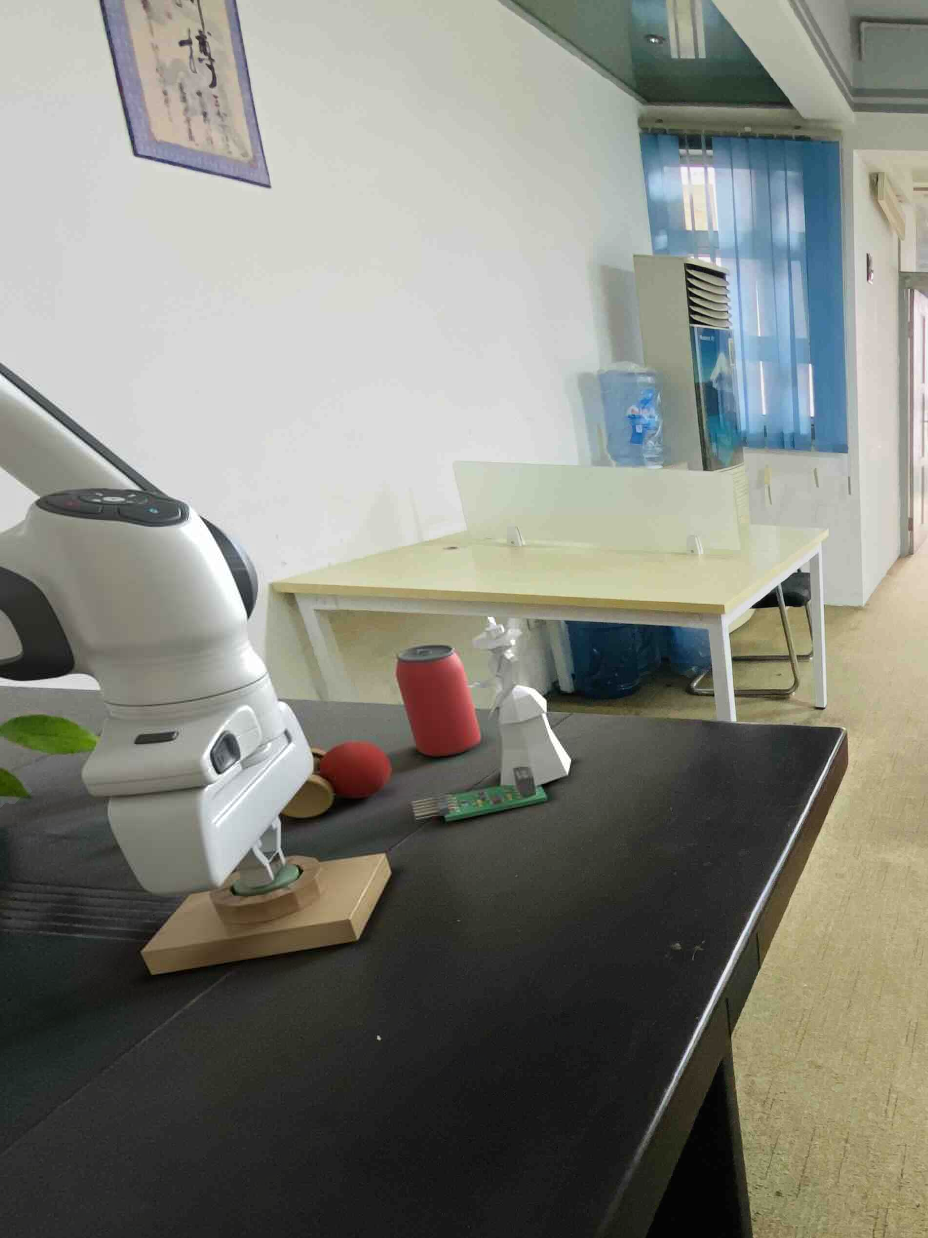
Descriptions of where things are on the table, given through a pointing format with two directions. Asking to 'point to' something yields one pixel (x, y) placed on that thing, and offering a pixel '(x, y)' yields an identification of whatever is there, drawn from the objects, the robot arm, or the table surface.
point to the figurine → (519, 713)
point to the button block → (271, 915)
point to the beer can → (437, 700)
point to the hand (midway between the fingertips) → (267, 876)
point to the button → (280, 881)
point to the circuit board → (485, 799)
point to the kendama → (340, 777)
